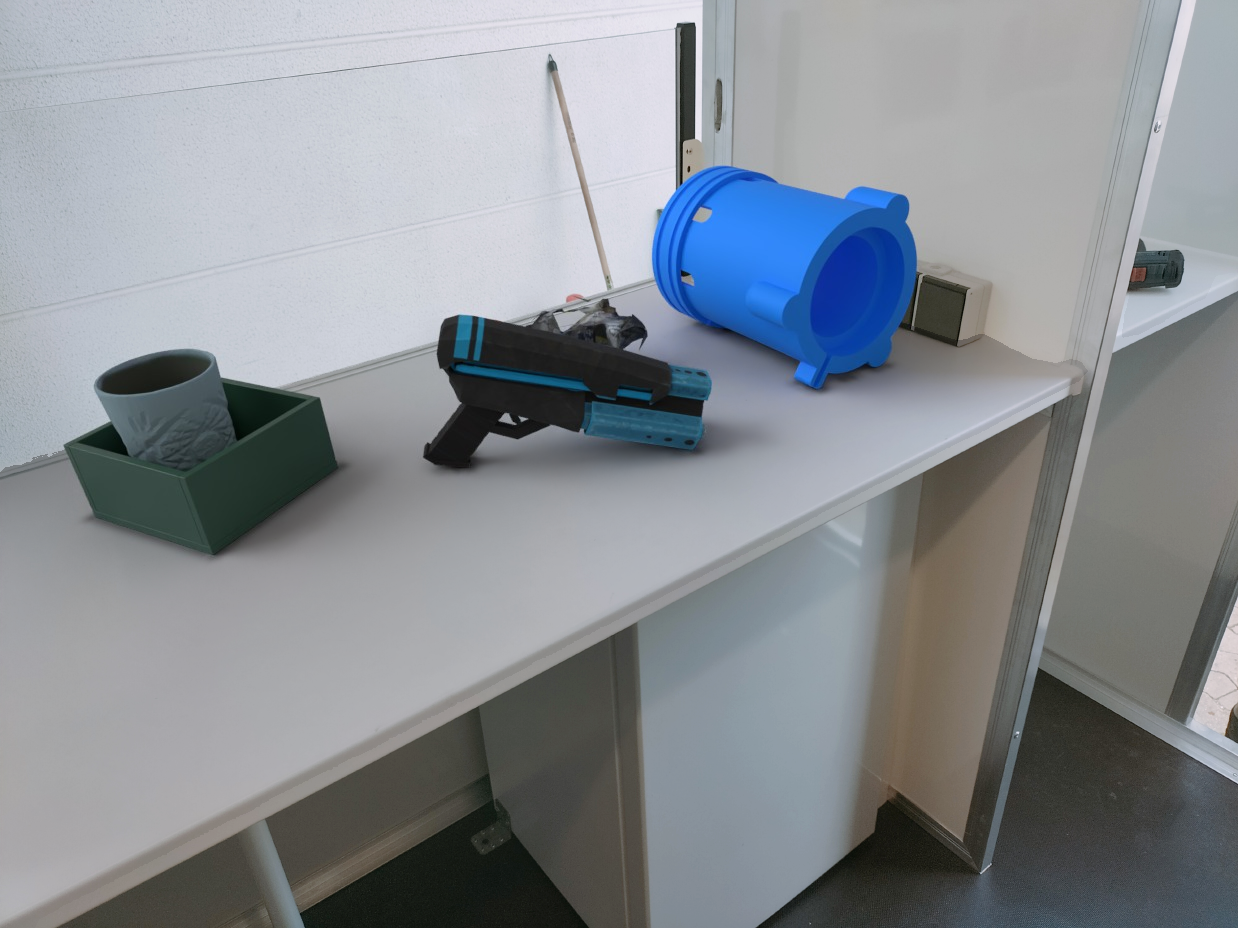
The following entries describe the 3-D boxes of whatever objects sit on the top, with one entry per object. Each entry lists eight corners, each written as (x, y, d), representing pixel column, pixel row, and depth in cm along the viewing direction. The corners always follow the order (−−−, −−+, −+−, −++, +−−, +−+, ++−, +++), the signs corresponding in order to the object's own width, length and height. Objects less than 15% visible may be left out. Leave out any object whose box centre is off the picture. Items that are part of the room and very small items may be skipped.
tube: (728, 343, 118) (624, 302, 106) (795, 190, 114) (695, 129, 101) (864, 406, 100) (757, 366, 87) (951, 228, 95) (851, 158, 83)
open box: (95, 517, 79) (62, 444, 75) (226, 440, 91) (204, 373, 87) (213, 555, 73) (184, 478, 69) (338, 467, 85) (320, 397, 81)
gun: (685, 510, 86) (727, 377, 79) (419, 478, 80) (438, 330, 73) (672, 470, 93) (709, 343, 85) (425, 437, 87) (443, 299, 80)
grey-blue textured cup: (243, 502, 78) (204, 385, 72) (126, 521, 77) (76, 402, 71) (258, 450, 87) (224, 341, 81) (153, 466, 85) (110, 356, 79)
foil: (532, 319, 108) (615, 267, 98) (575, 394, 109) (660, 350, 99) (473, 349, 99) (557, 295, 89) (520, 429, 101) (607, 385, 91)
